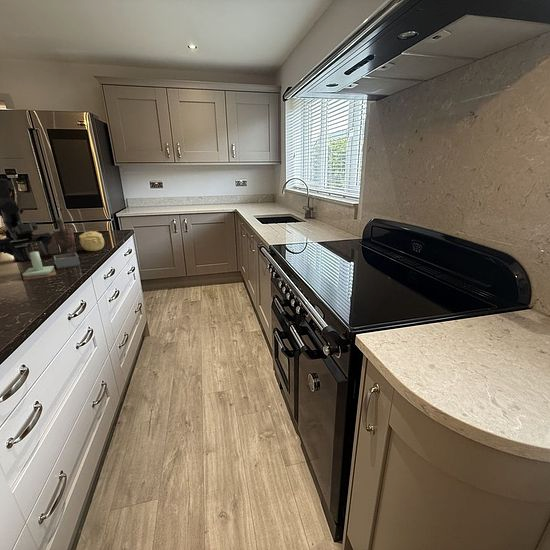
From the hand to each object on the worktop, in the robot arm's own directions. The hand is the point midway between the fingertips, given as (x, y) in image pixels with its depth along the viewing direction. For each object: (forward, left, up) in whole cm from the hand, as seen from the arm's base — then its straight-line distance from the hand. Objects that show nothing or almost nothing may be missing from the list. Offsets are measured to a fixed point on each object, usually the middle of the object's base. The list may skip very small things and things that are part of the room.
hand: (35, 257), depth 127 cm
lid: (0, 0, -7) cm, 7 cm away
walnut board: (0, 0, -8) cm, 8 cm away
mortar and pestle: (-33, +14, -8) cm, 37 cm away
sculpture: (-35, +26, -8) cm, 44 cm away
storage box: (-9, +11, -8) cm, 16 cm away
